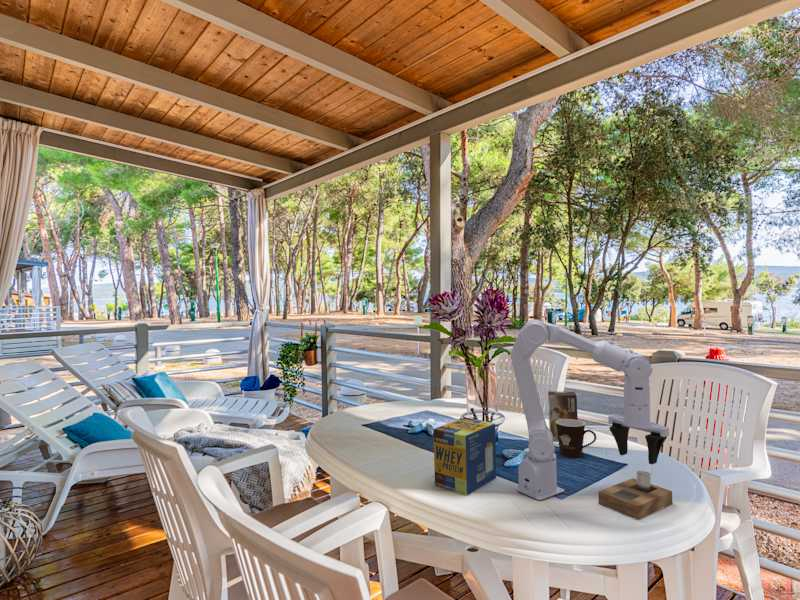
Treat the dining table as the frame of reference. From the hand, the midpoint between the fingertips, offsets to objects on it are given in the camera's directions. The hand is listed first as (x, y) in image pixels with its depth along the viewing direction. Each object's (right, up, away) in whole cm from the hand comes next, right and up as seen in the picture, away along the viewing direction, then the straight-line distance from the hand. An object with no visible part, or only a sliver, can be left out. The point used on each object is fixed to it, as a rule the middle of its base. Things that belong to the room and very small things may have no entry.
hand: (637, 458), depth 118 cm
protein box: (-40, -11, +13) cm, 44 cm away
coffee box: (-2, -9, +48) cm, 49 cm away
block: (-2, -10, -3) cm, 10 cm away
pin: (+1, -9, -1) cm, 9 cm away
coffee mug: (-4, -10, +31) cm, 33 cm away
